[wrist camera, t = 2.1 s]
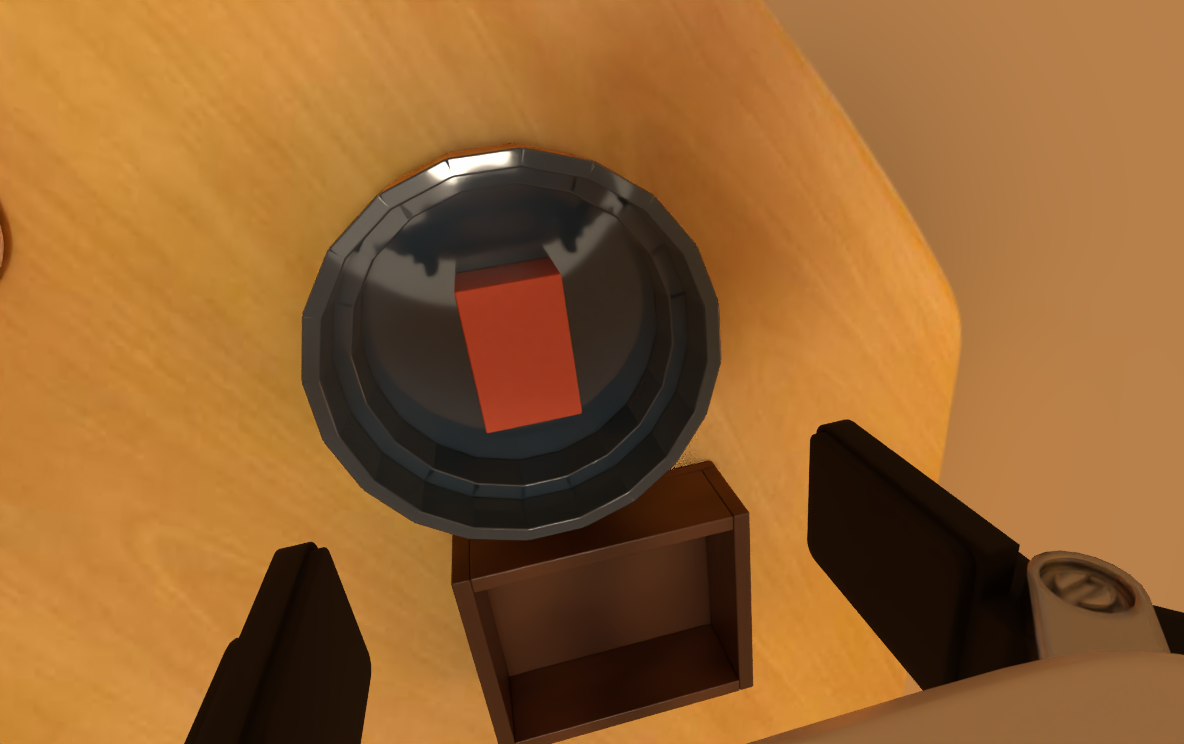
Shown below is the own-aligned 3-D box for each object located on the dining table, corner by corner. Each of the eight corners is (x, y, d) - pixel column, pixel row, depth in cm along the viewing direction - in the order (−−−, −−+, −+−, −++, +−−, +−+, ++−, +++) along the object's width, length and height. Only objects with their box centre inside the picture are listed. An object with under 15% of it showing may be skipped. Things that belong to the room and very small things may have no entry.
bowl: (665, 119, 24) (712, 119, 20) (688, 439, 30) (727, 494, 26) (277, 176, 22) (230, 189, 18) (386, 505, 28) (372, 578, 24)
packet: (550, 256, 25) (561, 273, 22) (570, 385, 27) (582, 414, 25) (454, 273, 24) (453, 292, 22) (484, 402, 27) (486, 434, 24)
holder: (711, 460, 31) (750, 512, 27) (720, 621, 36) (753, 686, 32) (452, 519, 29) (451, 584, 25) (497, 680, 34) (502, 758, 30)
